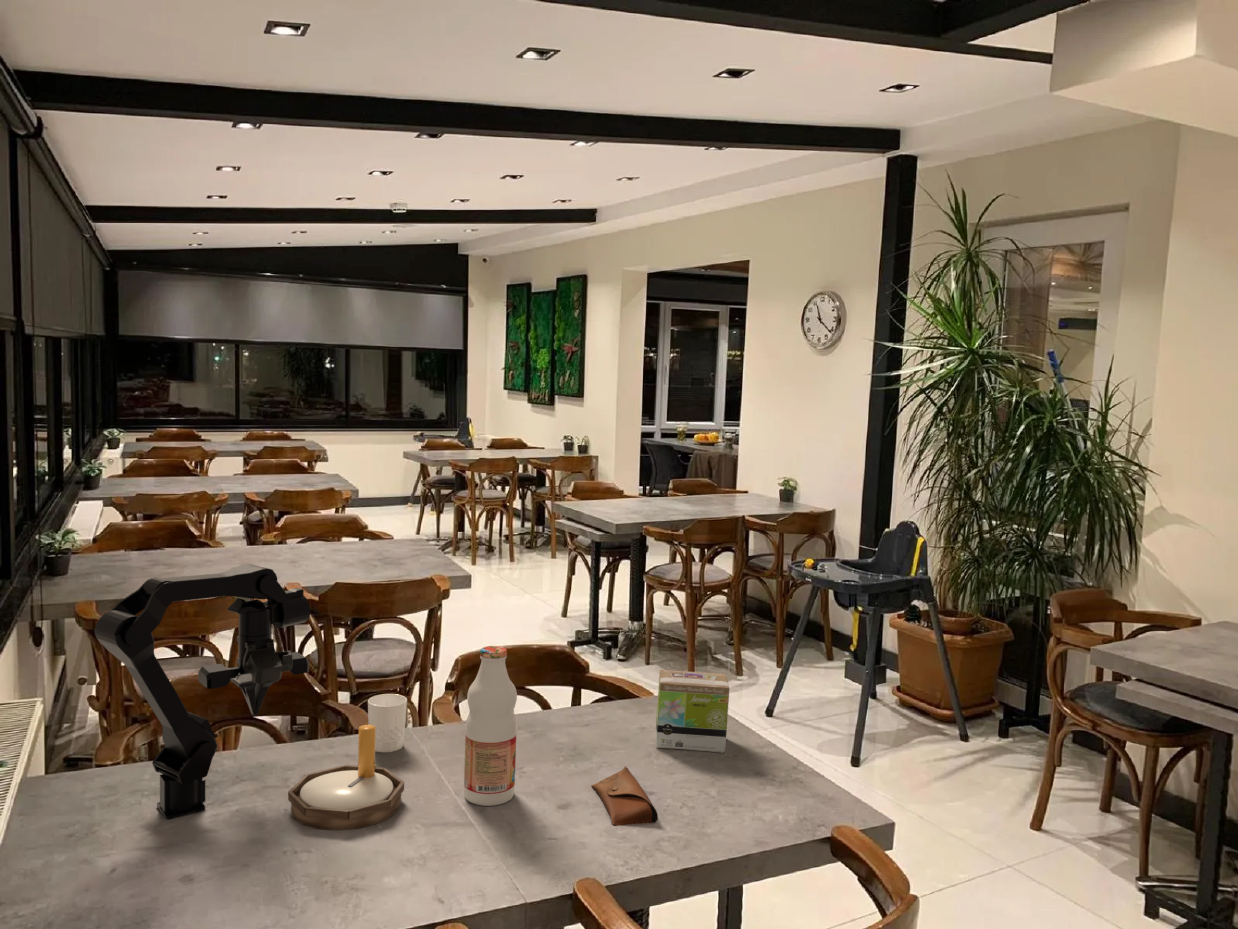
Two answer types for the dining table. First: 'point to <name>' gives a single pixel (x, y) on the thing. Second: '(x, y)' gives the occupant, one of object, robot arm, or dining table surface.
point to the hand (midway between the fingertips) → (254, 714)
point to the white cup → (388, 721)
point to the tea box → (692, 711)
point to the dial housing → (345, 818)
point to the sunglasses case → (625, 799)
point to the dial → (350, 781)
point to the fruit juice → (490, 732)
